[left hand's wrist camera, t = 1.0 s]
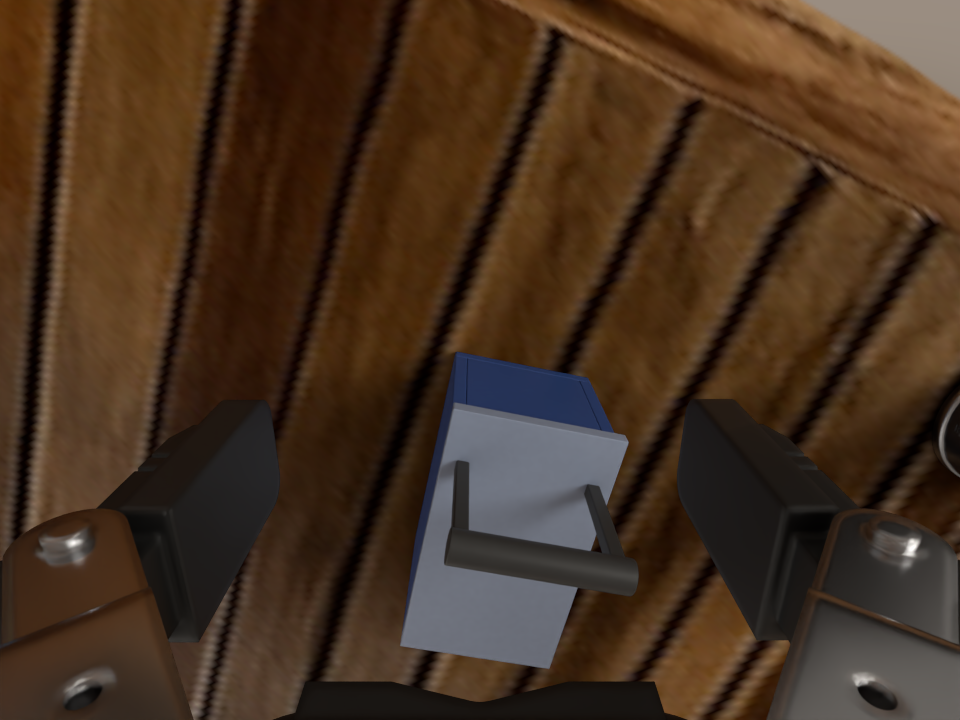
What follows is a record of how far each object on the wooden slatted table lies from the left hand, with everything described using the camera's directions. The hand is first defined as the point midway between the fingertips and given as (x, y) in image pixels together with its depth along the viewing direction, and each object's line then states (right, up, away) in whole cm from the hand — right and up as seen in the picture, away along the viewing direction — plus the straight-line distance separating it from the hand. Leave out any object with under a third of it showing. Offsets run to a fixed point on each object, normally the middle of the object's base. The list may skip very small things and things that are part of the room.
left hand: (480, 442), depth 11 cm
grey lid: (+1, -9, +22) cm, 23 cm away
